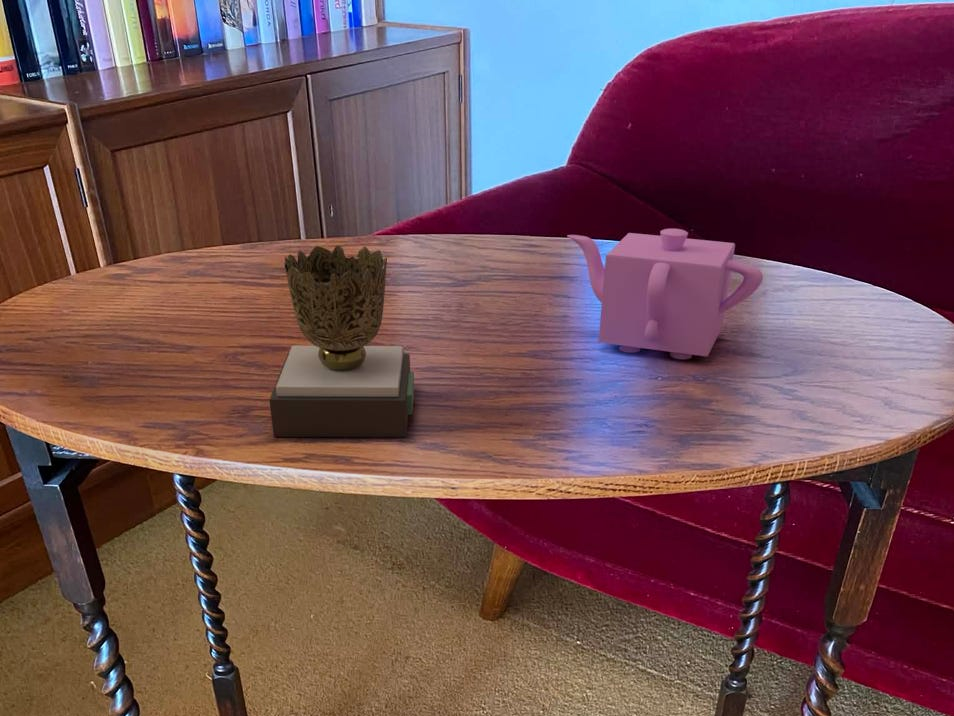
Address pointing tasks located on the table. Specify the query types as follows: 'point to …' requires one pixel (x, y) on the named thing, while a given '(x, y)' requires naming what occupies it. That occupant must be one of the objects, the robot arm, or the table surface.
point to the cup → (338, 302)
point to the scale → (343, 395)
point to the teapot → (665, 291)
